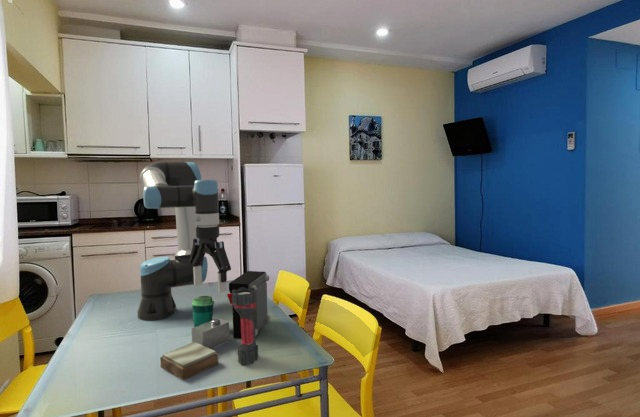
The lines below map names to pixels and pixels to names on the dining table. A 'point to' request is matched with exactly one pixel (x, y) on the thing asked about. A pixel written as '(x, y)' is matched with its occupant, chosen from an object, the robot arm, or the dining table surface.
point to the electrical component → (260, 286)
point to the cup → (202, 310)
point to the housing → (211, 333)
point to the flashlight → (246, 323)
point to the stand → (189, 360)
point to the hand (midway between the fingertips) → (209, 288)
